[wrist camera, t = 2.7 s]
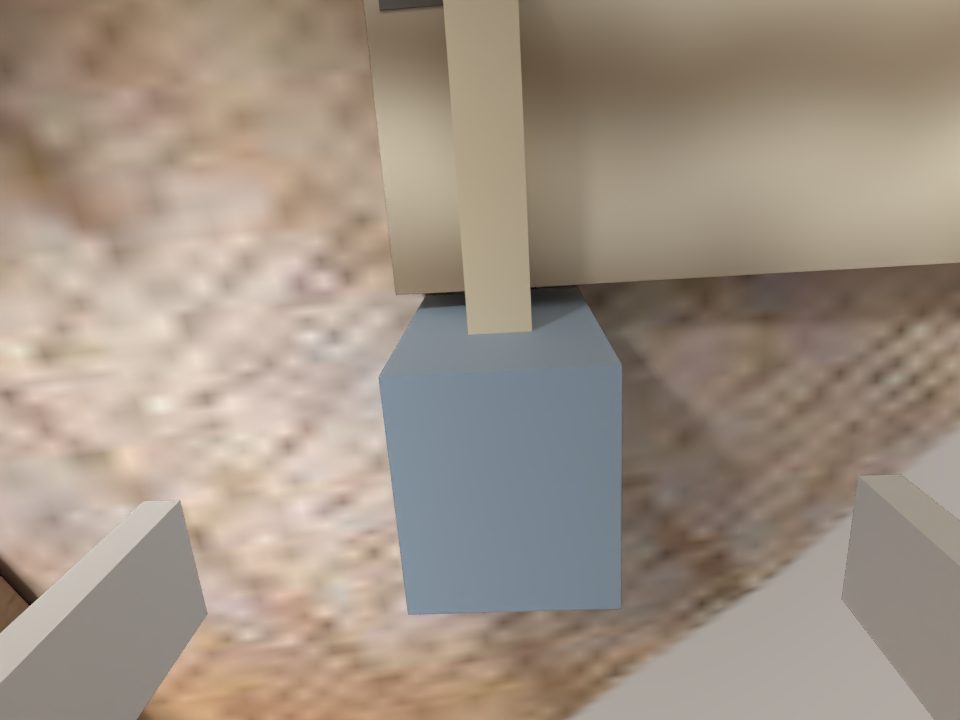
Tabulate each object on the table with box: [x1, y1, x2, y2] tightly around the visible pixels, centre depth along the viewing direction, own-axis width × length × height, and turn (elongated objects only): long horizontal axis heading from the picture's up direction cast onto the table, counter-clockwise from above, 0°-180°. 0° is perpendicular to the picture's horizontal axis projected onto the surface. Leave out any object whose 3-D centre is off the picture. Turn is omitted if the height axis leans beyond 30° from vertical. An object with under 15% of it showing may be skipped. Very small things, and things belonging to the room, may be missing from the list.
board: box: [363, 0, 960, 295], centre depth 16 cm, size 12×20×3 cm, turn 94°
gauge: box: [379, 0, 622, 615], centre depth 16 cm, size 15×5×8 cm, turn 4°
